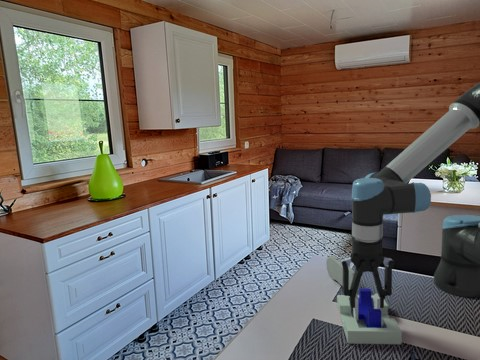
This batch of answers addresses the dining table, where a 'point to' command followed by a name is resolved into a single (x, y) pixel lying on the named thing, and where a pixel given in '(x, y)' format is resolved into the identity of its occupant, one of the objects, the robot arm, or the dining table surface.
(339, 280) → the slide sandal
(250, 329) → the dining table surface
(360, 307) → the cable clip
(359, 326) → the holder
